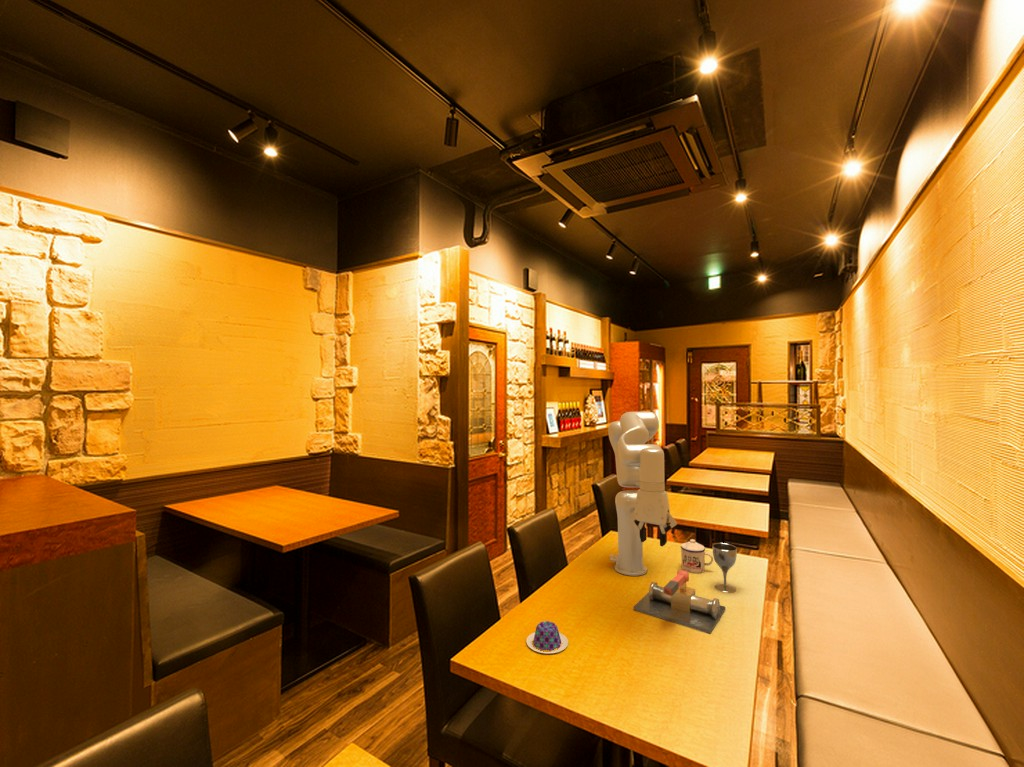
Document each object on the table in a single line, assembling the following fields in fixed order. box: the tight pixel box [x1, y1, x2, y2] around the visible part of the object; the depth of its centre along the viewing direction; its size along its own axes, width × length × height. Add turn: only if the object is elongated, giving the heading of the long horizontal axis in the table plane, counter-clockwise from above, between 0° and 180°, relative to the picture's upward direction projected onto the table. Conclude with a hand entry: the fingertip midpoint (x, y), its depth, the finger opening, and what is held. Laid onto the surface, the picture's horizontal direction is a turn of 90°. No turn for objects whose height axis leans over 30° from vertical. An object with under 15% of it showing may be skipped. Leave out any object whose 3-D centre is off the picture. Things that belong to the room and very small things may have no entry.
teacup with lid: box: [680, 538, 714, 574], centre depth 180 cm, size 12×9×12 cm
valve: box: [632, 581, 726, 634], centre depth 148 cm, size 24×18×10 cm
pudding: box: [526, 620, 569, 654], centre depth 130 cm, size 12×12×5 cm
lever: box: [663, 569, 690, 596], centre depth 143 cm, size 16×4×2 cm, turn 142°
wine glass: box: [712, 542, 738, 593], centre depth 163 cm, size 8×8×15 cm
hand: (653, 542), depth 144 cm, fingers open, 5 cm apart
